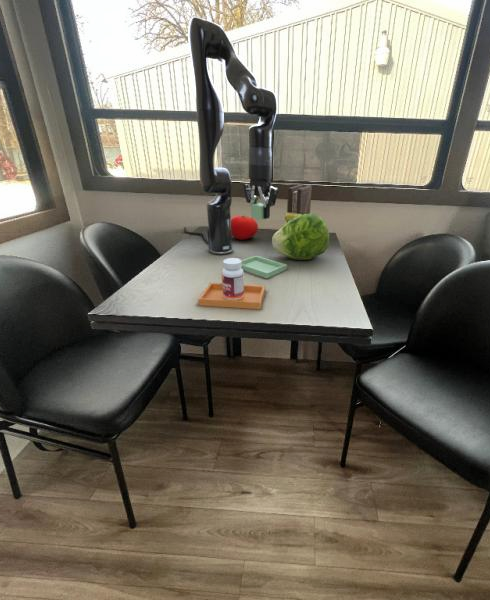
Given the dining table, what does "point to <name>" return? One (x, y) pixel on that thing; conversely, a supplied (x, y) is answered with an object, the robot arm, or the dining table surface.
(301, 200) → the book
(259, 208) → the sage block
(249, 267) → the sage tray
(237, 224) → the tomato
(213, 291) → the amber tray
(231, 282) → the pill bottle
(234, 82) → the robot arm
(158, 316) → the dining table surface
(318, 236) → the lettuce
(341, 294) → the dining table surface
